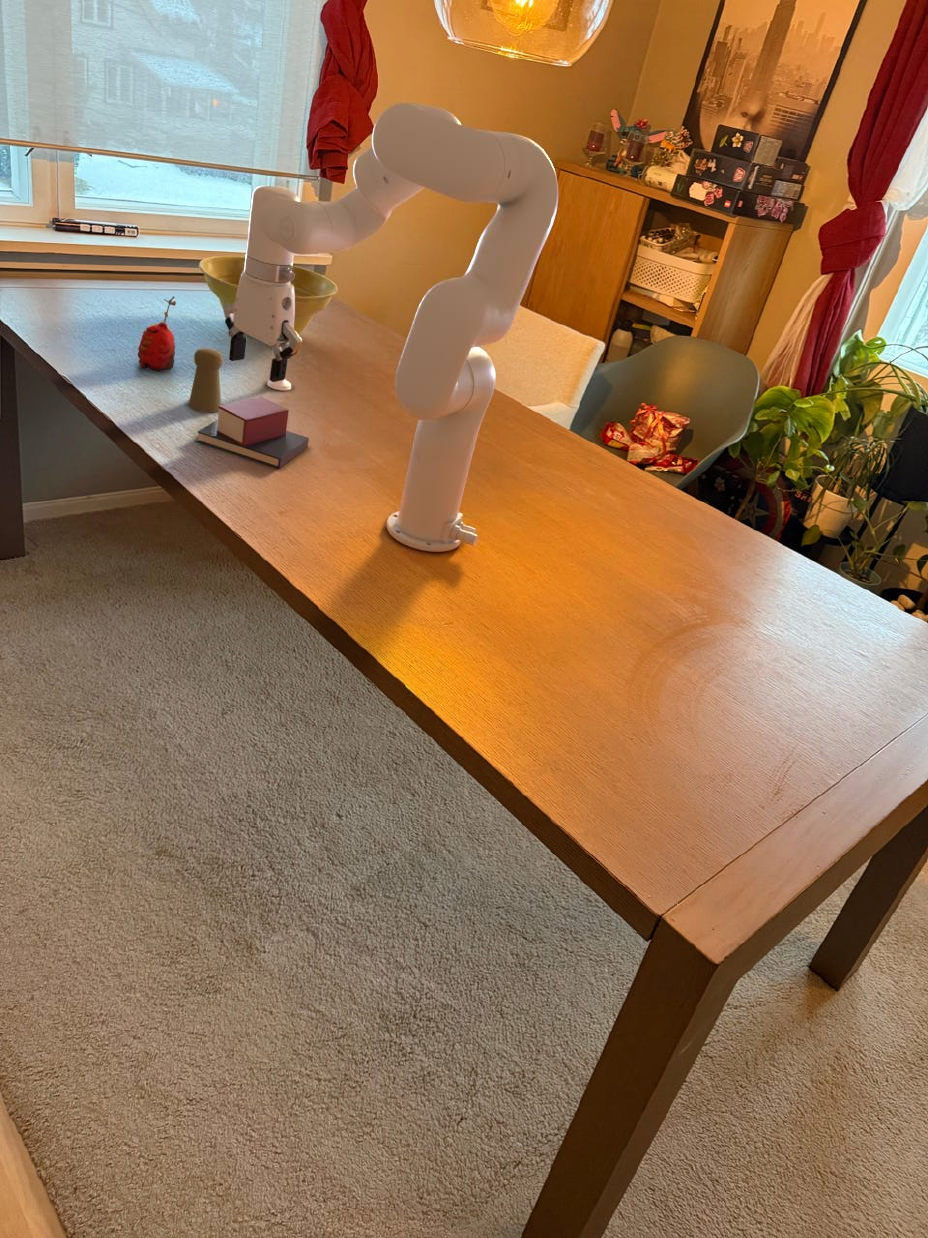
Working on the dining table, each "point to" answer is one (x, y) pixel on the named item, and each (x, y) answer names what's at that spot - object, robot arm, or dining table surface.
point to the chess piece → (280, 383)
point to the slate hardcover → (257, 446)
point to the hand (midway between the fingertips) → (256, 369)
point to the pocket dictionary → (252, 421)
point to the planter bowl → (307, 284)
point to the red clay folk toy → (157, 346)
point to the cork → (206, 381)
